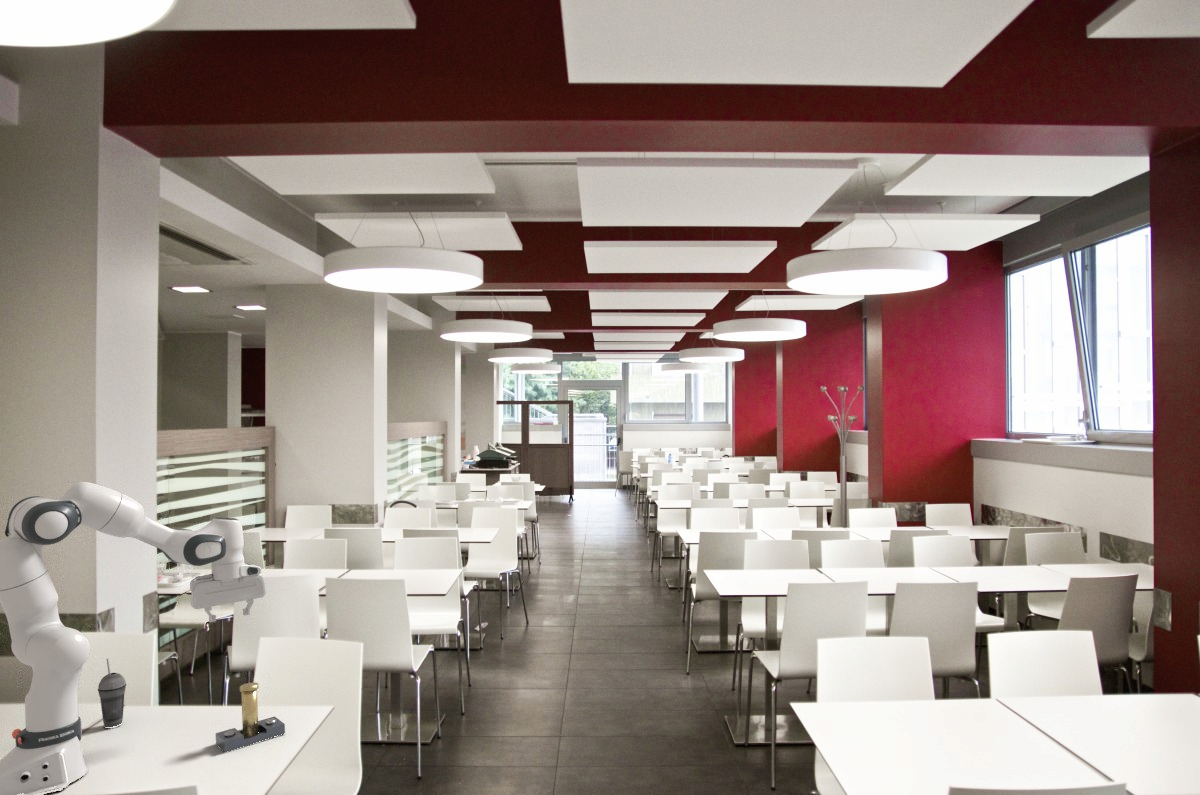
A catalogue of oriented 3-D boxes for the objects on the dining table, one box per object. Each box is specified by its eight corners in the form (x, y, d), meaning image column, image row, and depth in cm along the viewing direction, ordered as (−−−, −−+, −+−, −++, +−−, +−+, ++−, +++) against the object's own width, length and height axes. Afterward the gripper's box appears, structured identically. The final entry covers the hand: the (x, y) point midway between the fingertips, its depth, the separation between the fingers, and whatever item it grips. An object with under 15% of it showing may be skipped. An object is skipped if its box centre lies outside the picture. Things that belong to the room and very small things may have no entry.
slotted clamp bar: (224, 752, 208) (224, 739, 208) (215, 744, 214) (215, 731, 214) (285, 734, 219) (284, 721, 219) (275, 726, 225) (274, 714, 225)
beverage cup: (117, 730, 227) (115, 662, 227) (92, 731, 227) (91, 662, 227) (132, 720, 234) (131, 654, 234) (109, 721, 234) (107, 655, 235)
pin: (244, 744, 213) (242, 689, 214) (238, 739, 217) (237, 685, 217) (262, 739, 216) (260, 685, 217) (256, 734, 220) (255, 681, 220)
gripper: (192, 578, 220) (194, 627, 220) (266, 567, 234) (268, 613, 233) (186, 575, 225) (188, 623, 224) (259, 564, 238) (261, 609, 238)
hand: (229, 618), depth 229 cm, fingers open, 8 cm apart
